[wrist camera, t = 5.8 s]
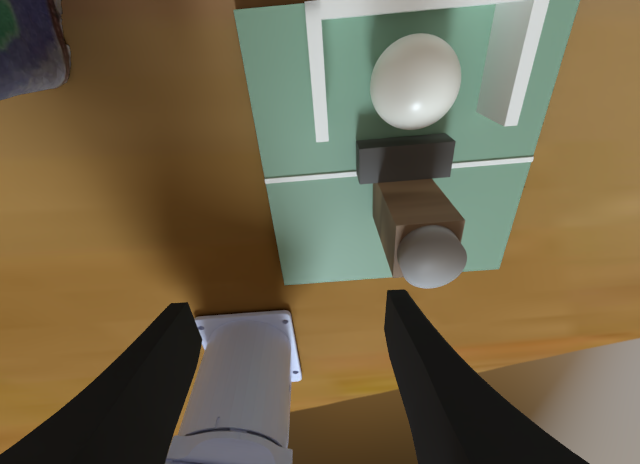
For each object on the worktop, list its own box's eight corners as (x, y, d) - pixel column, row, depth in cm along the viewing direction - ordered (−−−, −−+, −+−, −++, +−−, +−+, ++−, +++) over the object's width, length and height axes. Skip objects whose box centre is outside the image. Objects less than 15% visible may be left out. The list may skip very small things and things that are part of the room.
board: (494, 263, 24) (499, 269, 23) (285, 279, 24) (284, 286, 24) (577, -22, 15) (588, -24, 14) (236, 10, 15) (233, 9, 14)
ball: (471, 131, 14) (484, 20, 12) (378, 139, 14) (378, 30, 12) (438, 121, 17) (445, 36, 16) (365, 128, 17) (363, 43, 16)
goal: (486, 111, 17) (517, 125, 15) (315, 125, 17) (316, 142, 15) (512, -14, 14) (555, -23, 12) (305, 5, 14) (304, 1, 12)
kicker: (434, 211, 20) (484, 285, 14) (357, 217, 20) (375, 294, 15) (445, 133, 18) (512, 186, 12) (355, 140, 18) (378, 197, 12)
